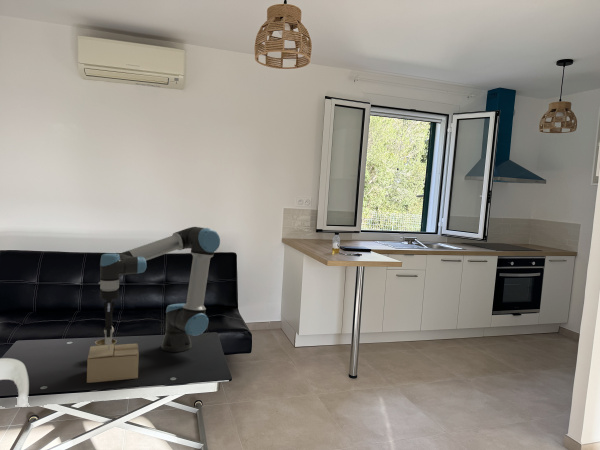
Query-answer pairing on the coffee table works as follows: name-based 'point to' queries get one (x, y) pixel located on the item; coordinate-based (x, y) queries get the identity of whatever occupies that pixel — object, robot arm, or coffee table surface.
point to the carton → (114, 365)
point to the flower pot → (102, 342)
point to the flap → (101, 350)
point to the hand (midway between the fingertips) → (108, 342)
